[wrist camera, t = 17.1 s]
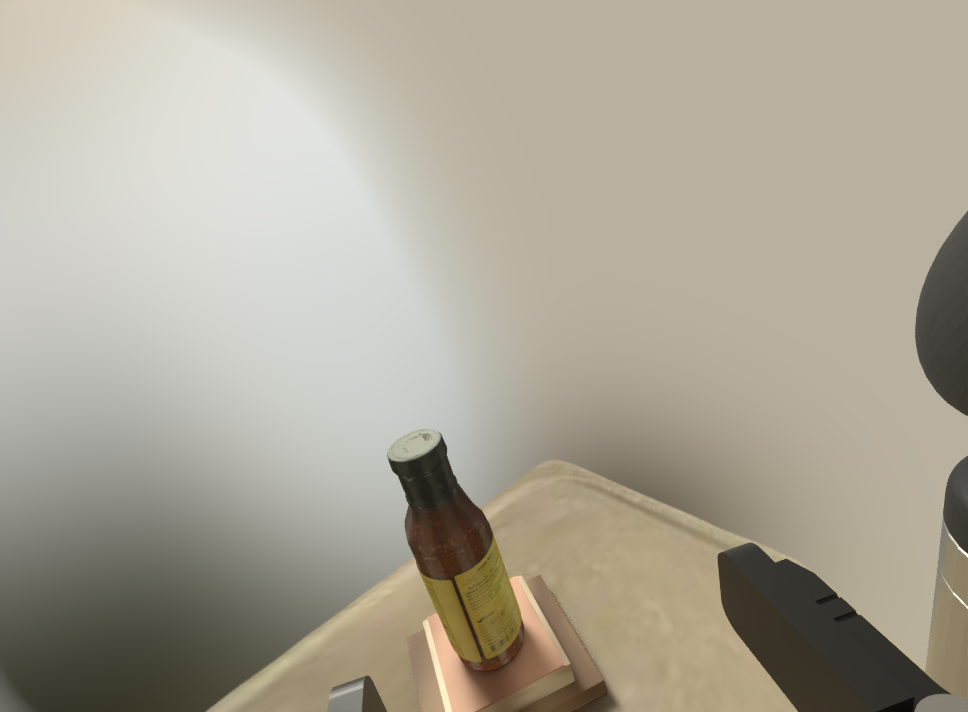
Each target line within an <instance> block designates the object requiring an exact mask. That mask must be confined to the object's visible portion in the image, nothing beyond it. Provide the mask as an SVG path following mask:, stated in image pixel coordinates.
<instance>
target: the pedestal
mask: <svg viewBox="0 0 968 712" xmlns="http://www.w3.org/2000/svg"><path fill="white" fill-rule="evenodd" d="M509 580H510V583H511V586H512V588H513V591H514V594H515V597H516V599H517V602H518V605H519V608H520V611H521V617H522V621H523V624H524V638H523V642H522V646H521V648H520V650H519V652H518V653H517V655H516V656H515V657H514V658H513V659H512V660H511V661H509V662H508V663H507V664H506V665H504V666H503V667H502V668H499V669H496V670H494V671H480V670H474V669H472V668H469V667H467V666H465V665H464V664H463V663H462V661H461V660H460V658H459V656H458V654H457V653H456V652H455V651H454V649H453V648H452V646H451V644H450V641H449V639H448V637H447V634H446V632H445V630H444V627H443V625H442V623H441V620H440V618H439V616H438V613H436V614H433V615H431V616H429V617H427V620H425V621H423V625H424V630H422V631H420V632H418V633H416V634H414V635H411V636H409V637H407V643H408V648H409V653H410V658H411V662H412V667H413V672H414V677H415V682H416V687H417V692H418V697H419V702H420V707H421V711H422V712H573V711H575V710H577V709H578V708H580V707H582V706H584V705H586V704H587V703H589V702H591V701H593V700H595V699H597V698H598V697H600V696H602V695H604V694H606V693H607V691H606V687H605V682H604V679H603V678H602V676H601V674H600V673H599V671H598V669H597V668H596V666H595V665H594V663H593V661H592V660H591V658H590V656H589V655H588V653H587V651H586V650H585V648H584V646H583V645H582V643H581V641H580V640H579V638H578V637H577V635H576V633H575V632H574V630H573V628H572V627H571V625H570V623H569V622H568V620H567V618H566V617H565V615H564V613H563V612H562V610H561V609H560V607H559V605H558V604H557V602H556V600H555V599H554V597H553V595H552V594H551V592H550V590H549V589H548V587H547V585H546V584H545V582H544V581H543V579H542V577H541V576H540V575H538V576H536V577H534V578H532V579H530V580H528V581H524V579H523V577H522V575H520V576H518V577H517V576H514V577H512V578H510V579H509Z"/></svg>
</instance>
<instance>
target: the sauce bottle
mask: <svg viewBox="0 0 968 712" xmlns="http://www.w3.org/2000/svg"><path fill="white" fill-rule="evenodd" d="M387 457H388V460H389V463H390V466H391V468H392V471H393V472H394V473H395V474H397V475H398V477H399V480H400V482H401V484H402V487H403V490H404V491H405V494H406V500H407V502H408V504H409V506H408V510H407V514H406V518H405V530H406V536H407V540H408V544H409V546H410V548H411V550H412V552H413V554H414V557H415V559H416V564H417V568H418V570H419V572H420V574H421V577H422V579H423V581H424V583H425V586H426V588H427V590H428V593H429V595H430V597H431V600H432V602H433V604H434V607H435V609H436V611H437V613H438V616H439V618H440V620H441V623H442V625H443V627H444V630H445V632H446V634H447V637H448V639H449V641H450V644H451V646H452V648H453V649H454V651H455V652H456V653H457V654H458V656H459V658H460V660H461V661H462V663H463V664H464V665H465V666H467V667H469V668H472V669H474V670H480V671H494V670H496V669H499V668H502V667H503V666H504V665H506V664H507V663H508V662H509V661H511V660H512V659H513V658H514V657H515V656H516V655H517V653H518V652H519V650H520V648H521V646H522V642H523V638H524V624H523V621H522V617H521V611H520V608H519V605H518V602H517V599H516V597H515V594H514V591H513V588H512V586H511V583H510V580H509V577H508V575H507V572H506V569H505V566H504V563H503V560H502V557H501V555H500V552H499V549H498V546H497V543H496V540H495V538H494V535H493V532H492V529H491V527H490V524H489V522H488V521H487V519H486V517H485V515H484V513H483V512H482V510H481V509H479V508H478V507H477V506H476V505H475V504H474V503H473V502H472V501H471V500H470V499H469V498H468V496H467V495H466V493H465V492H464V491H463V489H462V488H461V487H460V485H459V484H458V483H457V479H456V477H455V475H454V474H453V472H452V469H451V466H450V463H449V460H448V458H447V446H446V444H445V442H444V440H443V437H442V435H441V434H440V433H439V432H438V431H435V430H429V429H423V430H422V429H421V430H417V431H413V432H411V433H408V434H407V435H405V436H403V437H401V438H400V439H398V440H397V441H396V442H394V443H393V444H392V445H391V446H390V448H389V450H388V452H387Z"/></svg>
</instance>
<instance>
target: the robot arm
mask: <svg viewBox="0 0 968 712" xmlns="http://www.w3.org/2000/svg"><path fill="white" fill-rule="evenodd" d="M915 331H916V332H915V339H916V347H917V352H918V357H919V360H920V363H921V365H922V368H923V370H924V373H925V375H926V377H927V378H928V380H929V381H930V383H931V384H932V386H933V387H934V389H935V390H936V392H937V393H938V394H939V395H940V396H941V397H942V398H943V399H944V400H945V401H946V402H947V403H948V404H950V405H951V406H953V407H954V408H955V409H957V410H959V411H960V412H961V413H963V414H965V415H967V416H968V211H967V212H966V214H965V215H964V216H963V217H962V219H961V220H960V221H959V222H958V223H957V225H956V226H955V228H954V229H953V231H952V232H951V233H950V235H949V237H948V238H947V239H946V241H945V242H944V244H943V245H942V247H941V248H940V250H939V252H938V254H937V256H936V258H935V260H934V262H933V264H932V266H931V268H930V270H929V272H928V274H927V277H926V280H925V283H924V285H923V288H922V291H921V294H920V299H919V303H918V308H917V316H916V329H915ZM718 569H719V579H720V590H721V600H722V605H723V608H724V611H725V614H726V616H727V618H728V620H729V622H730V624H731V625H732V627H733V628H734V630H735V631H736V633H737V634H738V635H739V637H740V638H741V639H742V640H743V642H744V643H745V644H746V645H747V647H748V648H749V649H750V651H751V652H752V653H753V654H754V656H755V657H756V658H757V660H758V661H759V662H760V663H761V665H762V666H763V667H764V668H765V670H766V671H767V672H768V674H769V675H770V676H771V677H772V679H773V680H774V681H775V682H776V684H777V685H778V686H779V688H780V689H781V690H782V691H783V693H784V694H785V695H786V696H787V698H788V699H789V700H790V702H791V703H792V704H793V705H794V707H795V708H796V709H797V711H798V712H968V456H967V457H965V458H964V459H963V460H961V461H960V462H959V463H958V464H957V465H956V466H955V468H954V469H953V471H952V472H951V474H950V476H949V479H948V482H947V486H946V493H945V501H944V510H943V521H942V530H941V539H940V547H939V560H938V567H937V576H936V585H935V593H934V602H933V610H932V618H931V627H930V636H929V645H928V653H927V661H926V669H925V672H923V671H922V670H921V669H920V668H919V667H918V666H917V665H916V664H915V663H913V662H912V661H911V660H910V659H909V658H908V657H907V656H906V655H905V654H903V653H902V652H901V651H900V650H899V649H898V648H897V647H896V646H895V645H893V644H892V643H891V642H890V641H889V640H888V639H887V638H886V637H885V636H883V635H882V634H881V633H880V632H879V631H878V630H877V629H876V628H875V627H873V626H872V625H871V624H870V623H869V622H868V621H867V620H866V619H865V618H863V617H862V616H861V615H858V614H857V613H856V611H855V609H853V608H852V607H851V606H850V605H849V604H848V603H847V602H846V601H845V600H843V599H842V598H841V597H840V598H839V597H838V596H837V594H836V592H835V591H833V590H832V589H831V588H830V587H829V586H828V585H827V584H826V583H825V582H823V581H822V580H821V579H820V578H819V577H818V576H817V575H816V574H815V573H813V572H811V571H809V570H807V569H805V568H803V567H801V566H799V565H797V564H795V563H794V562H792V561H790V560H788V559H784V560H781V561H778V562H776V563H775V562H774V561H773V560H772V559H771V558H770V557H769V556H768V555H767V554H766V553H765V552H764V551H763V550H762V549H761V548H759V547H758V546H757V545H755V544H754V543H747V544H744V545H741V546H738V547H735V548H732V549H730V550H727V551H724V552H721V553H719V554H718ZM327 712H387V710H386V708H385V706H384V704H383V702H382V700H381V698H380V696H379V694H378V692H377V689H376V687H375V685H374V683H373V681H372V679H371V678H370V676H364V677H362V678H359V679H356V680H353V681H350V682H347V683H344V684H342V685H339V686H336V687H334V688H332V690H331V692H330V696H329V703H328V711H327Z"/></svg>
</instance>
